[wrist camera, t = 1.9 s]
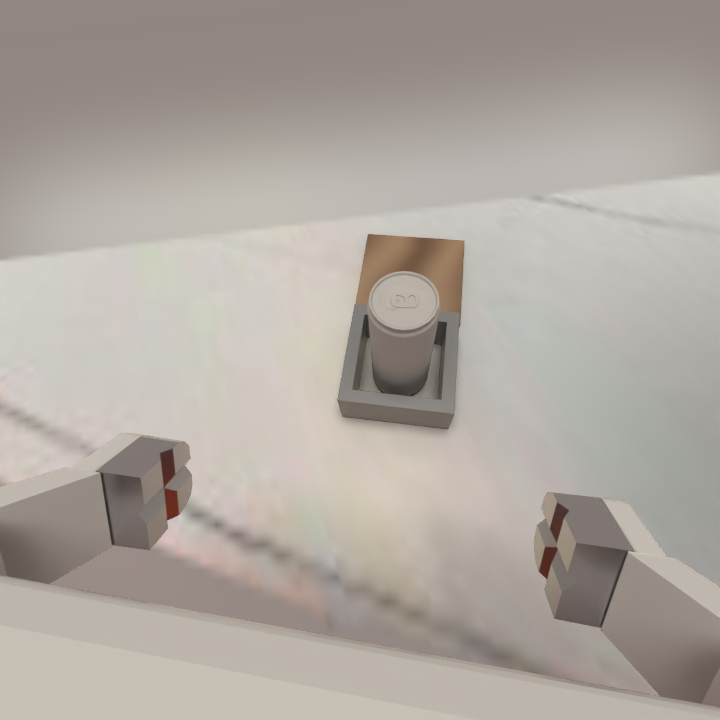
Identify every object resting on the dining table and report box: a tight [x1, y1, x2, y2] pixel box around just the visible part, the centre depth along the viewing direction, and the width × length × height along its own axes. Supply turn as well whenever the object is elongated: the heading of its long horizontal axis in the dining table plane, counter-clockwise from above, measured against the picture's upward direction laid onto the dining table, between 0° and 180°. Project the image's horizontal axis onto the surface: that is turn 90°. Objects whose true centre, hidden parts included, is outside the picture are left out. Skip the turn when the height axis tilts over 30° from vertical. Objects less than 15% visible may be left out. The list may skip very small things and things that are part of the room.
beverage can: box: [367, 271, 440, 396], centre depth 33 cm, size 5×5×12 cm
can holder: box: [338, 304, 460, 429], centre depth 36 cm, size 9×9×4 cm
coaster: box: [356, 234, 464, 326], centre depth 42 cm, size 10×10×1 cm
